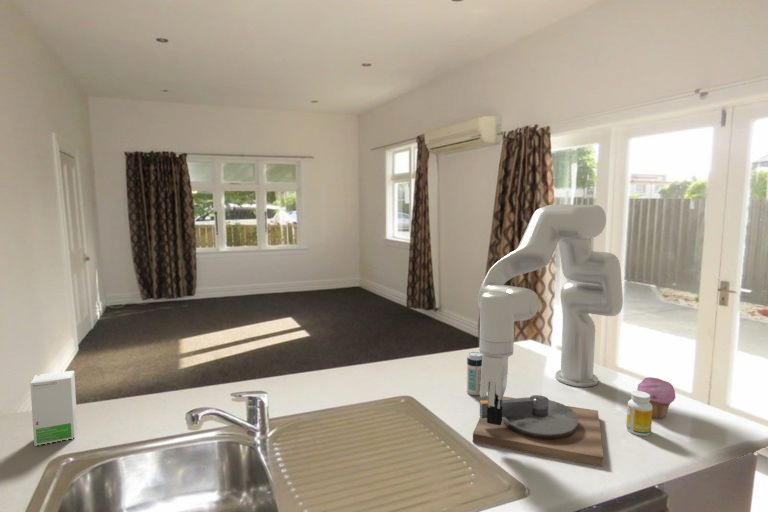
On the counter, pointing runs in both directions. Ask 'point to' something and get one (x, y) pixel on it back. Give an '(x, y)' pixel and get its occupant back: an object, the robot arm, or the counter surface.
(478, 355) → the pill bottle
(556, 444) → the dial base
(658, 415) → the cupcake
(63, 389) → the skincare box
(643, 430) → the supplement bottle
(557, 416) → the dial
